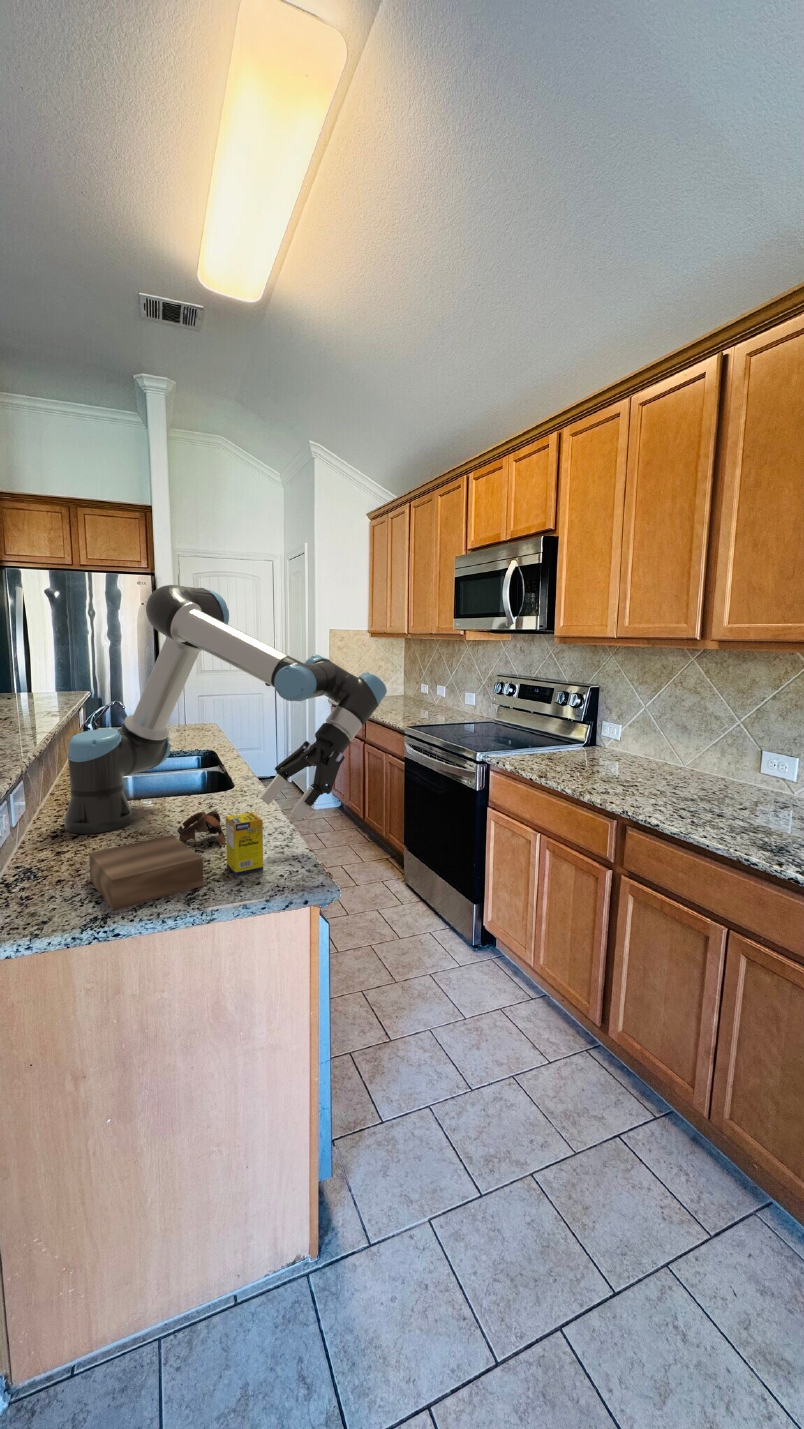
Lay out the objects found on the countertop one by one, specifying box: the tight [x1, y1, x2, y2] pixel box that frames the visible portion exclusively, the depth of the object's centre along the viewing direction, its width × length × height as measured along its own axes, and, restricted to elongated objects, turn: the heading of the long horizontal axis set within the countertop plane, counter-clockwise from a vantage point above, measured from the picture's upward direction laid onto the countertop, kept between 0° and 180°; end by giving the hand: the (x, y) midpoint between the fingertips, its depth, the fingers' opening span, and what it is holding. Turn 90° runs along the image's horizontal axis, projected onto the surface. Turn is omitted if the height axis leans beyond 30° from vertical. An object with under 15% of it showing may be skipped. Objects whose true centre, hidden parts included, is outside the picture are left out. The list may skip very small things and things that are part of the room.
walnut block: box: [88, 835, 204, 911], centre depth 111 cm, size 16×16×6 cm
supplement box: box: [225, 811, 264, 877], centre depth 118 cm, size 6×6×11 cm
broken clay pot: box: [176, 810, 226, 847], centre depth 134 cm, size 12×10×8 cm
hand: (278, 808), depth 121 cm, fingers open, 13 cm apart
